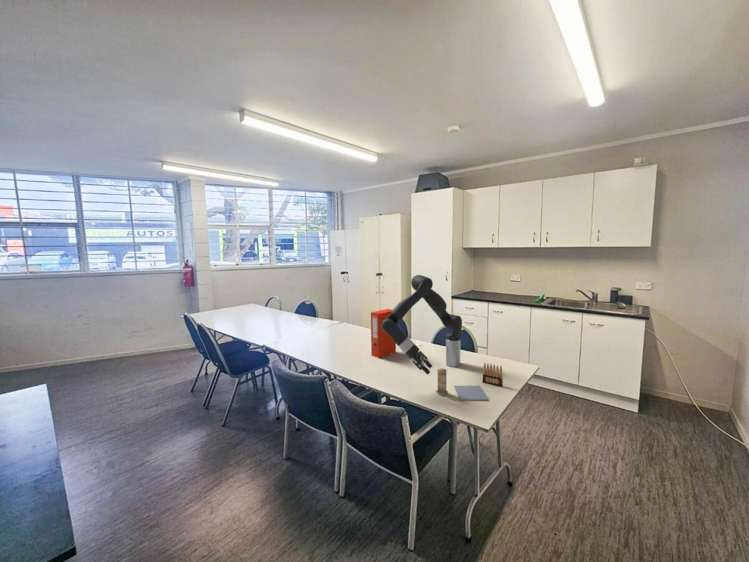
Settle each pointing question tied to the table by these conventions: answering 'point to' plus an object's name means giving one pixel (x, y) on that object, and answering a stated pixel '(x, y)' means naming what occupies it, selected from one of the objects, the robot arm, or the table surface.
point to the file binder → (381, 335)
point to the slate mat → (470, 393)
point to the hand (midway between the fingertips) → (430, 370)
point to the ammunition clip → (492, 375)
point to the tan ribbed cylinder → (442, 382)
